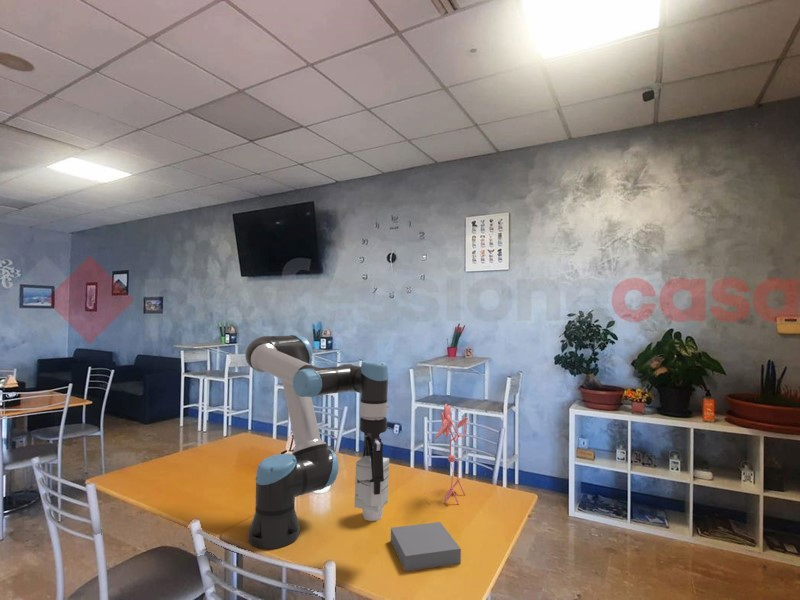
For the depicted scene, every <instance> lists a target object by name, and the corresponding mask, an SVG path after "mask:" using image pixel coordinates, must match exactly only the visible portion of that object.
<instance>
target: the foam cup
mask: <svg viewBox="0 0 800 600" xmlns="http://www.w3.org/2000/svg"><path fill="white" fill-rule="evenodd" d="M383 512H384V507H383V508H382V509H381V510H380V511H379V512H375V511H371V510H366V509H362V516H363V519H364V520H366V521H369V522H375V521H379V520H381V519H382V517H383Z"/></svg>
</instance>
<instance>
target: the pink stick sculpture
mask: <svg viewBox="0 0 800 600" xmlns="http://www.w3.org/2000/svg"><path fill="white" fill-rule="evenodd" d="M451 407H452V406H451V405H448V404H447V403H445V404H444V408H443V412H441V416H440V417H441V421H442V422H441V423H442V424H441V425H442V426H441V428H440V429H439V430H438V431H437V433H436V435H435V437H434V440H437V439H438V437H440V436H441V434H442V435H443V436H444V435H445V437H446V438H449V435H451V437H452V438H451V439H450V440H449V455H448V458H447V460H448V462H449V463H450V467H451V470H452V476H451V480H450V481H451V482H450V487H449V489H448V490H447V492H446V494H445V496H444V500H443V504H446V502H447V501H448V500H449V499H450V498H451V496H452V495H453V497H454V498H455V502H456V504H457V505H459V504H460V503H459V500H458V498H457V496H456V494H455V492H454V488H455V487H456V486H457V485H459V487H460V490H461V491H462V494H463V496H465V495H466V493H465V491H464V488H463V486H462V484H461V481H460V480H461V477H459V471H460V469H459V468H460V461H459V460H458V459H456V456H455V455H454V454H452V441H453V443H456V441H457V439H458V438H460V437H461V438H465V437H466V429H467V423H468V416H466V417H465V418H463V419H462V420H460V421H459V422H458V423H457V426H456V427H457V429H460V428H461V427H462V426H464V429H463V435H461V434H460V433H458V431H457V429H456V427H455V425H454V423H453V421H452V417H451V411H452V410H451V409H452V408H451ZM451 427H453V430H454V432H455V434H456V436H454V434H453V432H452V429H451ZM454 462H457V474H456V475H457V477H456V478H457V479H456V481H455V482H454V484H453V479H454V473H455V471H454V467H453V464H452V463H454ZM467 489H469V490H471V488H470V487H467ZM433 490H434V488H432V489H431V491H433ZM428 492H430V490H428V491H427V493H428ZM427 493H426V494H425V493H424V494H425V495H424V496H426V495H427ZM427 504H428V505H429V506H431V505H430V503H429V502H427Z"/></svg>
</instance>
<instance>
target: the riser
mask: <svg viewBox="0 0 800 600" xmlns="http://www.w3.org/2000/svg"><path fill="white" fill-rule="evenodd" d="M390 543H391V545H392V547H393V549H394V551H395V553H396V555H397V557H398V559H399V562H400V563H401V566H402V568H403V570H404V571H405V572H411V571H417V570H424V569H431V568H437V567H438V568H439V567H444V566H445V567H446V566H451V565H458V564H459V565H460V564H461V561H462V559H461V558H462V553H461V552H462V548H461V546H459V544H458V543H457V542H456V540H455V538H453V537H452V535H451V534H450V533H449V531H448V530H447V529H446V527H445V526H444V525H443V523H442V522H441V521H437V522H428V523H420V524H411V525H410V524H409V525H404V526H393V527H390Z"/></svg>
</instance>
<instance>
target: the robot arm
mask: <svg viewBox="0 0 800 600" xmlns="http://www.w3.org/2000/svg"><path fill="white" fill-rule="evenodd" d="M313 353H314V352H313V347H312V345H311V343H310V342H309V339H307V338H306V337H304V336H302V335H295V334H290V335H264V336H260V337H259V336H258V337H257V338H256V339H253V340H252V341H251V342H249V344H248V346H247V348H246V349H245V353H244V354H245V356H244V357H245V361H246V363H247V365H248V366H249V367H250V368H251V369H253V370H254V371H257V372H259V373H268V374H269V375H272V376H273V377H275V378H277V379H279V380H281V382H282V386H283V391H284V395H285V401H286V405H287V410H288V411H287V412H288V415H289V416H288V417H289V421H290V426H291V427H290V428H291V432H292V436H293V442H294V449H293V450H292V453H282V454H280V453H278V454H274V455H270V456H268V457H266V458H264V459H263V460H261V461H260V462H259V464H258V465H257V468H256V474H255V475H256V476H255V511H254V515H253V517H252V521H251V523H250V527H249V529H248V536H247V537H248V543H249V545H251V546H252V547H254V548H258V549H266V550H270V549H278V548H279V549H280V548H283V547H286V546H289V545H290V544H292V543H294V542H296V541H297V539H299V537H300V534H301V532H300V529H301V526H300V521H299V519H298V515H297V512H296V509H295V504H296V503H295V501H296V498H297V497H299V496H303V495H306V494H309V493H313V492H315V491H320V490H323V489H325V488H327V487H330V486H332V485H333V484H334V483H335V481H336V479H337V477H338V474H339V459H338V455H337V454H336V453H335V451H334V450H333V449H330V448H328V445H327V442H325V441H324V440H322V439H321V435H320V429H319V426H318V425H319V424H318V421H317V417H316V413H315V407H314V403H313V397H319V396H324V395H330V394H339V393H347V392H355V393H359V394H360V403H359V404H360V405H359V407H360V410H359V416H360V418H359V419H360V420H359V430H360V432H362V433H364V434H363V435H364V436H363V448H362V458H363V457H364V456H370V457H371V470H372V479H371V480H370V482H371V506H379V505H381V482H383V481H384V475H383V458H384V454H383V453H384V452H383V451H384V442H383V441H382V438H381V437H380V435H381V434H383V433H386V431H387V429H388V428H387V427H388V419H387V417H386V416H387V415H388V414H387V413H388V408H389V407H390V405H389V404H388V388H389V387H388V384H389V370H388V369H389V368H388V367H389V366H388V364H387V363H386V362H385V361H381V360H380V361H378V360H366V361H363V362H362V363H361V366H360V365H355V364H352V363H351V364H350V363H348V364H346V363H345V364H344V363H343V364H340V365H338V366H330V367H329V366H328V367H327V366H326V367H317V366H315V365H313V364H311V363H312V360H313Z"/></svg>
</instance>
